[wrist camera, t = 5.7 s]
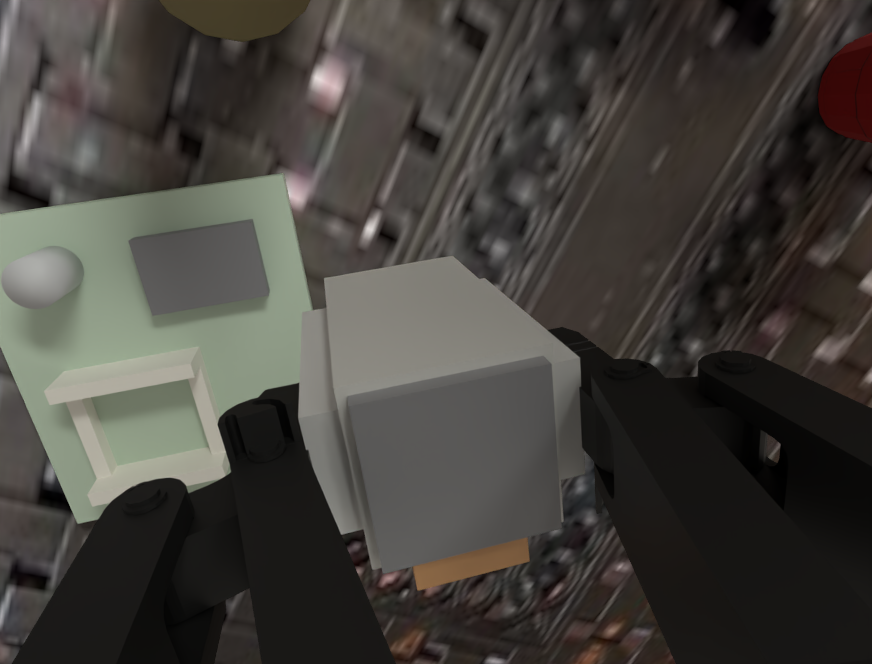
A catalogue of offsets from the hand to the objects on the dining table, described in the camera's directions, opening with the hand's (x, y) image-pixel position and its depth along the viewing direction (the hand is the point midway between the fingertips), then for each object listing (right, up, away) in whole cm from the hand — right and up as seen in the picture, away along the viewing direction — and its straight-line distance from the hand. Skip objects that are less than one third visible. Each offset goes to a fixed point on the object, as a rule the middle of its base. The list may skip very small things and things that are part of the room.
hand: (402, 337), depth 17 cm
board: (-14, -1, +16) cm, 21 cm away
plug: (0, 0, +1) cm, 1 cm away
